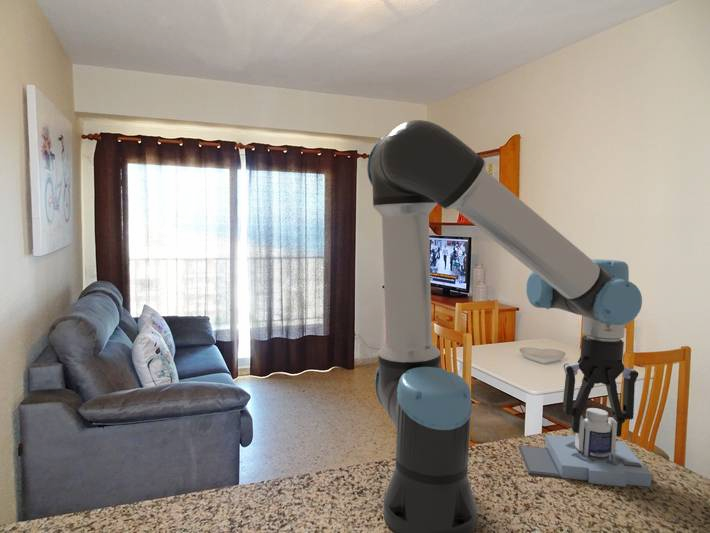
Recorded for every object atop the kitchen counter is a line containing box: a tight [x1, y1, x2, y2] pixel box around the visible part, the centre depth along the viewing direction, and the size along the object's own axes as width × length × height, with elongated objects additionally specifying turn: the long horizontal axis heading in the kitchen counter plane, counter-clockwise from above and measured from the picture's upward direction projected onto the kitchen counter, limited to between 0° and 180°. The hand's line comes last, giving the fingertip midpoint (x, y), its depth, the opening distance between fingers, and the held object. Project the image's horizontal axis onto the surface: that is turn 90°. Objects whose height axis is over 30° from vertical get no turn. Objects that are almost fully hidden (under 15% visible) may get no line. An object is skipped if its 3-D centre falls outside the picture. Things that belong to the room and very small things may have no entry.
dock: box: [544, 434, 653, 488], centre depth 100 cm, size 16×16×3 cm
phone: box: [517, 444, 562, 479], centre depth 101 cm, size 12×6×1 cm, turn 171°
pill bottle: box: [580, 407, 611, 461], centre depth 99 cm, size 5×5×10 cm
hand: (594, 449), depth 100 cm, fingers closed on pill bottle, 5 cm apart
